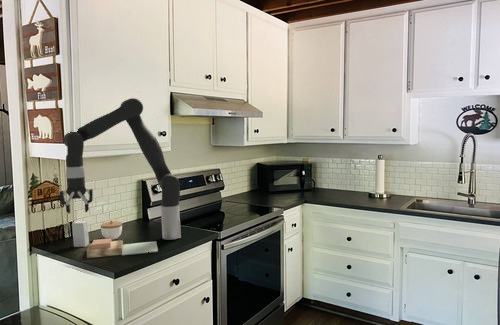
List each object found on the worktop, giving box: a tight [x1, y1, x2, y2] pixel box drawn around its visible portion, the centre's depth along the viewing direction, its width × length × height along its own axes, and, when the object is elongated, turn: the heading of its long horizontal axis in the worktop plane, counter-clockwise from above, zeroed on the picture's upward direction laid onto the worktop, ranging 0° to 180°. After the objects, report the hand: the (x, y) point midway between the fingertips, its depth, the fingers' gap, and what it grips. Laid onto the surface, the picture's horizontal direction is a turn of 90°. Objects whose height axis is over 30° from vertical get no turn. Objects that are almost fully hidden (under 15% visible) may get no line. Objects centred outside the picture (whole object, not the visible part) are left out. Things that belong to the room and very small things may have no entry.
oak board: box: [86, 239, 124, 259], centre depth 185 cm, size 15×13×3 cm
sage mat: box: [121, 241, 159, 256], centre depth 189 cm, size 16×16×1 cm
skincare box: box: [71, 220, 90, 248], centre depth 195 cm, size 6×4×12 cm
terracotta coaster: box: [92, 238, 113, 249], centre depth 184 cm, size 8×8×2 cm
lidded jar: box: [100, 220, 123, 241], centre depth 208 cm, size 11×11×9 cm
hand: (77, 212), depth 180 cm, fingers open, 6 cm apart
